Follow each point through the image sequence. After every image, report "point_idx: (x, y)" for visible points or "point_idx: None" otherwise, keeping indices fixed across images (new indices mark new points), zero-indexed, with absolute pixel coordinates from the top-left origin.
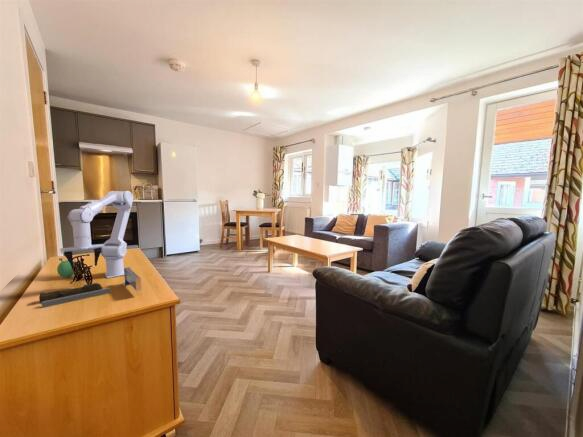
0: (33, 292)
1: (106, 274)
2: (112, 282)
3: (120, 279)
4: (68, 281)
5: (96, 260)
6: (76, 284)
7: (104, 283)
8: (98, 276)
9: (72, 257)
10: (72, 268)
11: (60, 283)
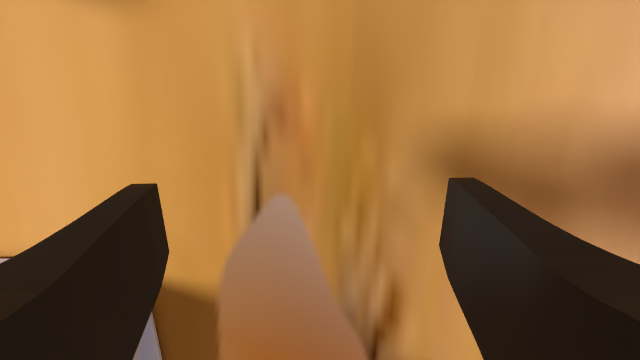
0: (634, 233)
1: (147, 344)
2: (72, 91)
3: (4, 145)
4: (407, 349)
5: (88, 222)
6: (367, 241)
7: (147, 110)
8: (211, 349)
9: (581, 289)
10: (475, 179)
11: (457, 334)
